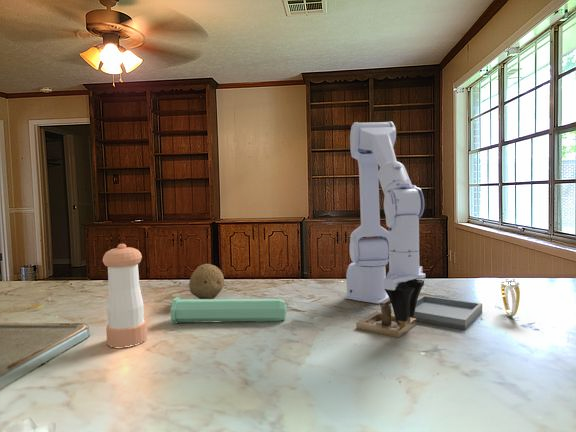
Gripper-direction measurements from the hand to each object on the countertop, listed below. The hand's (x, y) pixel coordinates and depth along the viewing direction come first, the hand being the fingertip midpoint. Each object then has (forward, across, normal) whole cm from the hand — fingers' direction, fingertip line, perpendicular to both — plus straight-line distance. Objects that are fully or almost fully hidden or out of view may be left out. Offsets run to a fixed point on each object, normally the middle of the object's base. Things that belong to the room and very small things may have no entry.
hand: (404, 318), depth 81 cm
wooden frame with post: (+2, 0, +4) cm, 5 cm away
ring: (+3, +20, -15) cm, 25 cm away
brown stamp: (+2, 0, +4) cm, 5 cm away
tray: (+2, +13, -3) cm, 14 cm away
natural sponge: (+3, -8, +50) cm, 51 cm away
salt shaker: (+3, -35, +42) cm, 55 cm away
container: (+3, -15, +34) cm, 37 cm away
